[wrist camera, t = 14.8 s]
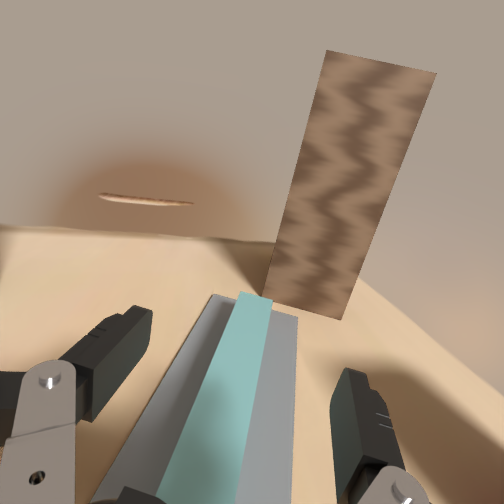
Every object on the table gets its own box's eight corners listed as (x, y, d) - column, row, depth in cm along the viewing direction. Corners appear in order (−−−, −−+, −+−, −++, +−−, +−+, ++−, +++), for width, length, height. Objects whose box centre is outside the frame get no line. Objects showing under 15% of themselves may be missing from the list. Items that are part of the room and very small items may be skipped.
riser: (261, 298, 45) (326, 49, 33) (272, 255, 62) (319, 80, 50) (340, 320, 44) (436, 73, 32) (330, 271, 61) (391, 96, 49)
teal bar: (84, 704, 12) (85, 662, 10) (234, 318, 38) (240, 291, 36) (180, 742, 12) (195, 704, 10) (265, 327, 38) (273, 300, 36)
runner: (40, 590, 15) (40, 585, 15) (213, 296, 43) (213, 293, 42) (281, 679, 14) (284, 675, 14) (296, 320, 42) (297, 317, 41)
